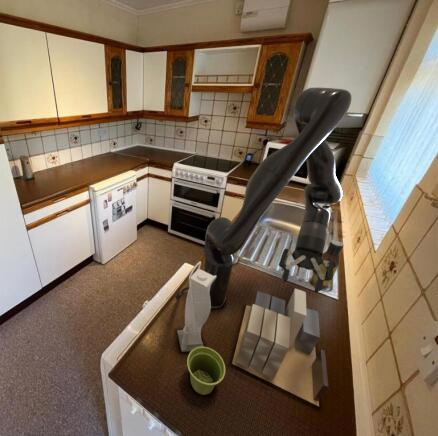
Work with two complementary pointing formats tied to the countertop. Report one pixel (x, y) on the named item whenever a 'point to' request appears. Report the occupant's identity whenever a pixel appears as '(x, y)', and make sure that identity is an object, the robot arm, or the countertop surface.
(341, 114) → the robot arm
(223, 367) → the plant pot
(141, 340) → the countertop surface
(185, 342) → the skyscraper
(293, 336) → the white book
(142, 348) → the countertop surface
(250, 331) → the book board
